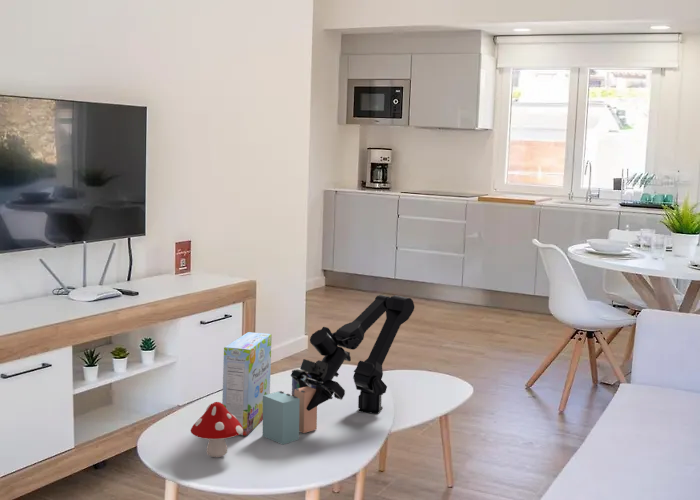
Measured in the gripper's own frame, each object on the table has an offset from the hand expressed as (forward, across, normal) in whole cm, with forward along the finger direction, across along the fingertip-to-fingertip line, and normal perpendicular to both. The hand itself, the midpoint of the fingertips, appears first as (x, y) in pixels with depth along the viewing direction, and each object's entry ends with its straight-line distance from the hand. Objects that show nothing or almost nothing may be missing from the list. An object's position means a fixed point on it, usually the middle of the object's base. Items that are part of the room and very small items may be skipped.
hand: (302, 407), depth 238 cm
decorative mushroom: (+26, -1, -16) cm, 30 cm away
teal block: (+11, 0, -1) cm, 11 cm away
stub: (+4, 0, +6) cm, 7 cm away
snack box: (+11, -16, 0) cm, 19 cm away
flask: (-10, -24, +21) cm, 33 cm away
